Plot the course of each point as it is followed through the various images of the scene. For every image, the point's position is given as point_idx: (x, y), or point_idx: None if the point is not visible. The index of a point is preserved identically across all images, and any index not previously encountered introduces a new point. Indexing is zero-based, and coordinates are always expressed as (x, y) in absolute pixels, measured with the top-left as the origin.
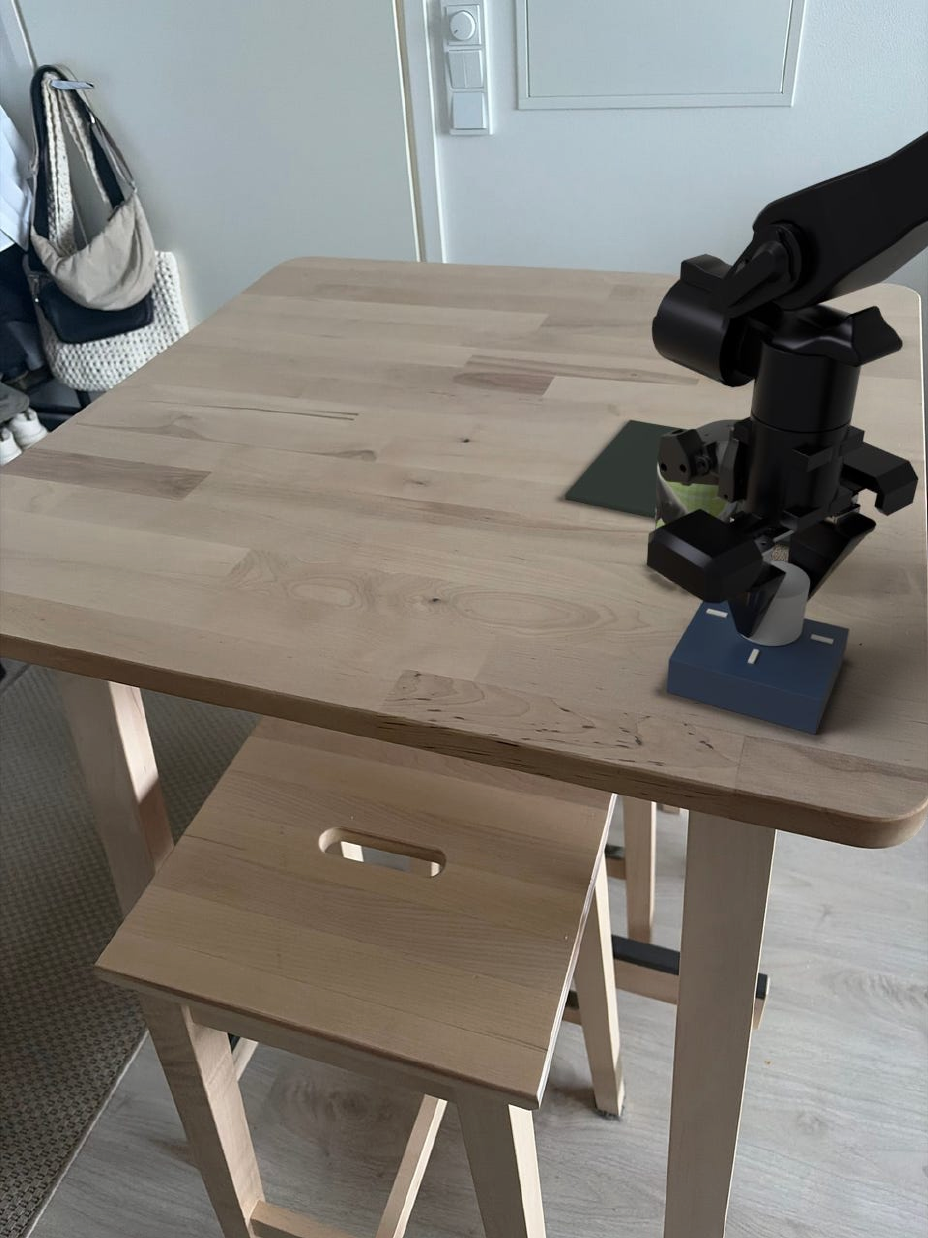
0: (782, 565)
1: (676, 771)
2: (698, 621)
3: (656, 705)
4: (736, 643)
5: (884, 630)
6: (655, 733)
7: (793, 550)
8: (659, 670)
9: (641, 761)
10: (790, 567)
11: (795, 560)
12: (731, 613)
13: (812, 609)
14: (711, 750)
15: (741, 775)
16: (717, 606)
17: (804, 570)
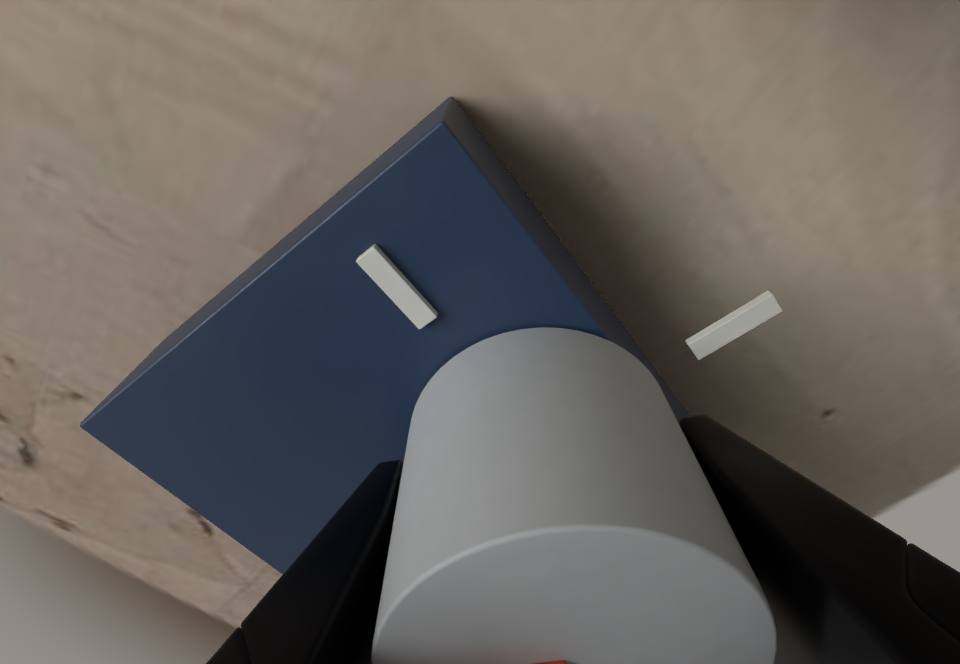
0: (714, 612)
1: (99, 553)
2: (292, 292)
3: (116, 370)
4: (367, 462)
5: (945, 396)
6: (81, 451)
7: (868, 660)
8: (179, 240)
9: (20, 505)
10: (738, 636)
11: (819, 623)
12: (326, 526)
13: (886, 206)
14: (205, 538)
15: (239, 604)
16: (433, 239)
17: (788, 653)
